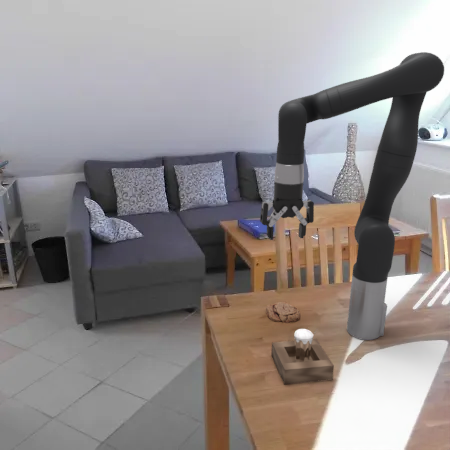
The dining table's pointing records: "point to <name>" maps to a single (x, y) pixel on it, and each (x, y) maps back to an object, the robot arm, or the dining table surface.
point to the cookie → (282, 312)
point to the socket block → (301, 363)
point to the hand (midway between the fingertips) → (285, 238)
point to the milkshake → (303, 344)
